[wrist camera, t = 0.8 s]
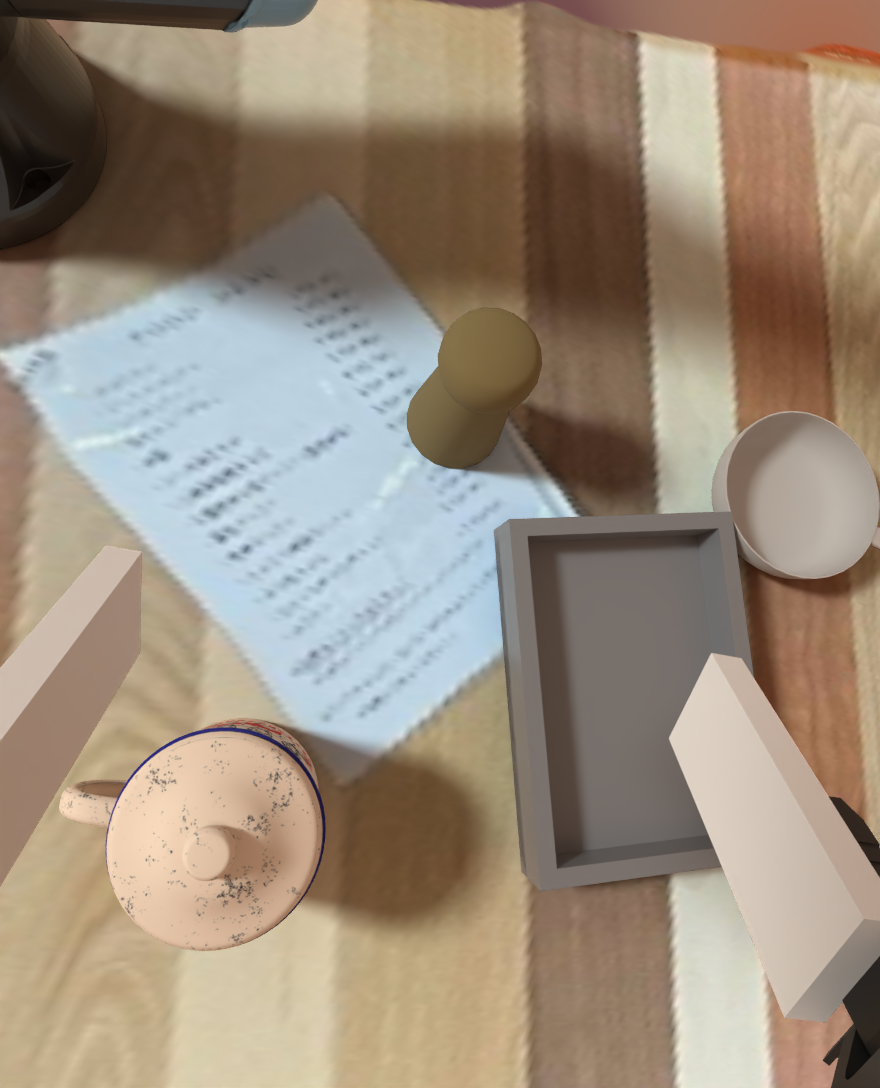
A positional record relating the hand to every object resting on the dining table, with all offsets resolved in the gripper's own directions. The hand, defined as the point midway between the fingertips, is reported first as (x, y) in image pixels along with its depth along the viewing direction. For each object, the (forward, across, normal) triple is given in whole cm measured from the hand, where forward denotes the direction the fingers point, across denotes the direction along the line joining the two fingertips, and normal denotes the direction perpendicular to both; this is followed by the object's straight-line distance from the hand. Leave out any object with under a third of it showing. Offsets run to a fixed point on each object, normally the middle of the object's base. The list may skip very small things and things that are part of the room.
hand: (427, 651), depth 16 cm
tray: (+21, +15, -16) cm, 30 cm away
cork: (+29, +2, -4) cm, 30 cm away
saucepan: (+29, +28, -6) cm, 41 cm away
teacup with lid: (+14, -7, -22) cm, 28 cm away
